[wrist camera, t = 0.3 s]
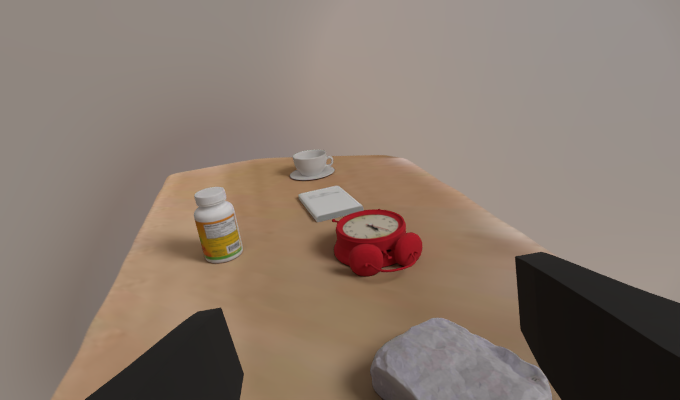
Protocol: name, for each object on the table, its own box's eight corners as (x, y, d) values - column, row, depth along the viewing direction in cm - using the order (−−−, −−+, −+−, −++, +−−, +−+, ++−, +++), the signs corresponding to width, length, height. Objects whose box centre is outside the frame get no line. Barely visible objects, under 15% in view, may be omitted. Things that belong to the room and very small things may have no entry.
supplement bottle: (208, 249, 61) (193, 188, 57) (244, 243, 61) (231, 182, 58) (202, 267, 56) (184, 201, 52) (241, 260, 56) (226, 195, 53)
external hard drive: (317, 225, 66) (299, 201, 77) (364, 213, 68) (339, 192, 79) (315, 216, 65) (297, 193, 76) (363, 205, 67) (338, 184, 78)
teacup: (285, 183, 86) (282, 162, 85) (295, 169, 96) (292, 150, 94) (331, 180, 85) (329, 158, 83) (337, 166, 94) (334, 146, 92)
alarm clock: (387, 202, 61) (436, 216, 47) (393, 242, 62) (443, 268, 48) (320, 217, 58) (351, 237, 44) (328, 258, 59) (360, 291, 45)
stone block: (435, 349, 39) (358, 392, 33) (442, 305, 38) (363, 341, 32) (562, 431, 31) (491, 511, 24) (576, 378, 29) (505, 447, 23)
